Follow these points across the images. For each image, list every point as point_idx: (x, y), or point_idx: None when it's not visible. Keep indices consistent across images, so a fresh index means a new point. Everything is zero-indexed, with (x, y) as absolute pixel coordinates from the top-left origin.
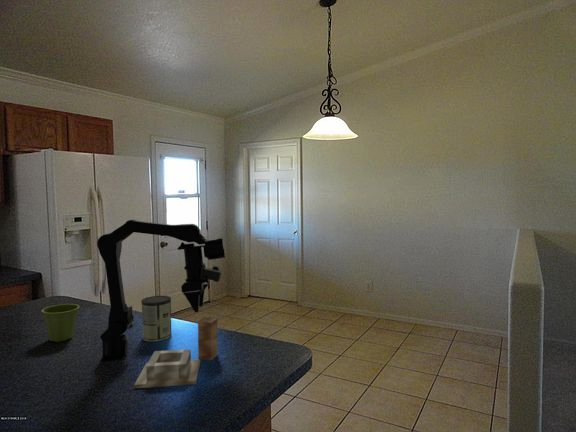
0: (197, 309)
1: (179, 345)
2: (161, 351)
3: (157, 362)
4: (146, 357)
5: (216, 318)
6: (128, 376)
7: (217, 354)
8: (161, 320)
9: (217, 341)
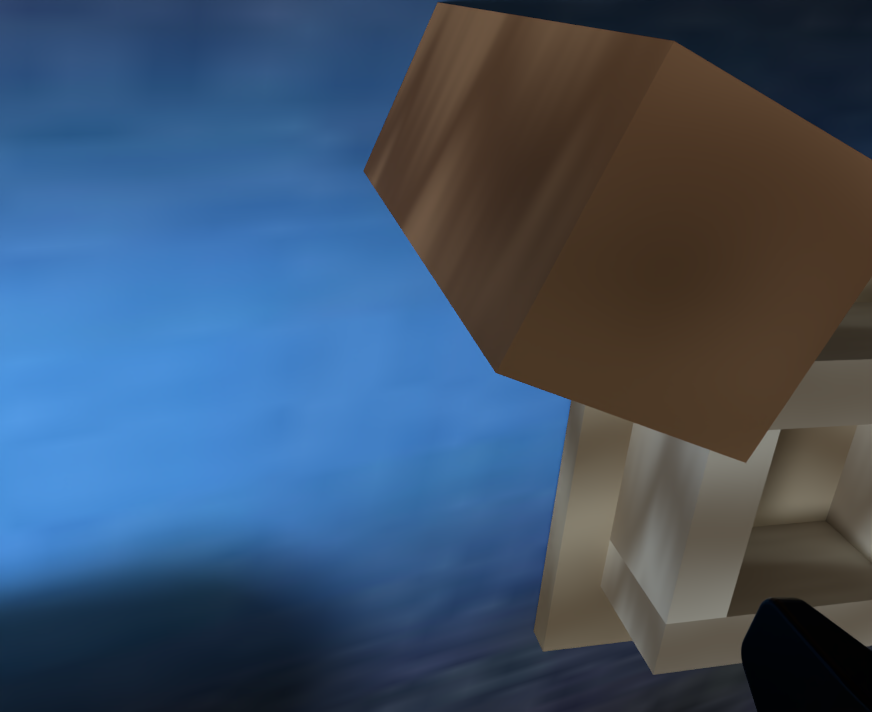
0: (850, 655)
1: (64, 488)
2: (684, 620)
3: (818, 582)
4: (359, 681)
5: (686, 64)
6: (673, 679)
7: (442, 4)
8: None
9: (489, 11)
